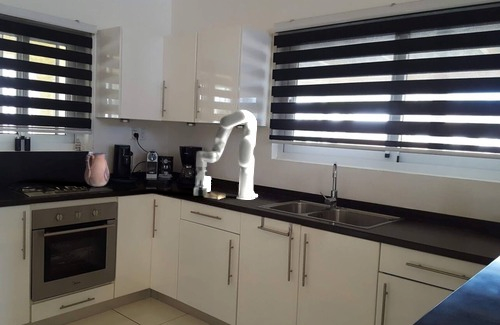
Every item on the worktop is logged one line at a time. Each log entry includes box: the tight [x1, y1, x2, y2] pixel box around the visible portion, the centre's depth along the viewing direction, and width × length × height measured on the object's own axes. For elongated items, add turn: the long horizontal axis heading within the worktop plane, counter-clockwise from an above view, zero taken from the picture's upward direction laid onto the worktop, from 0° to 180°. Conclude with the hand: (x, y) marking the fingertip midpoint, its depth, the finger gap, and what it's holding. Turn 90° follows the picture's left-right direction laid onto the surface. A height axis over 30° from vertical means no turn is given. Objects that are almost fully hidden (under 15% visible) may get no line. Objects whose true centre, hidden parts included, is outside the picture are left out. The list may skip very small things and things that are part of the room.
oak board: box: [203, 191, 227, 200], centre depth 282 cm, size 11×10×2 cm
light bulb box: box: [194, 175, 212, 192], centre depth 307 cm, size 11×7×11 cm, turn 45°
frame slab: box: [193, 186, 208, 197], centre depth 287 cm, size 9×4×6 cm, turn 94°
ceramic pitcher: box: [84, 151, 110, 188], centre depth 307 cm, size 18×21×25 cm
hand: (200, 194), depth 287 cm, fingers closed on frame slab, 3 cm apart
